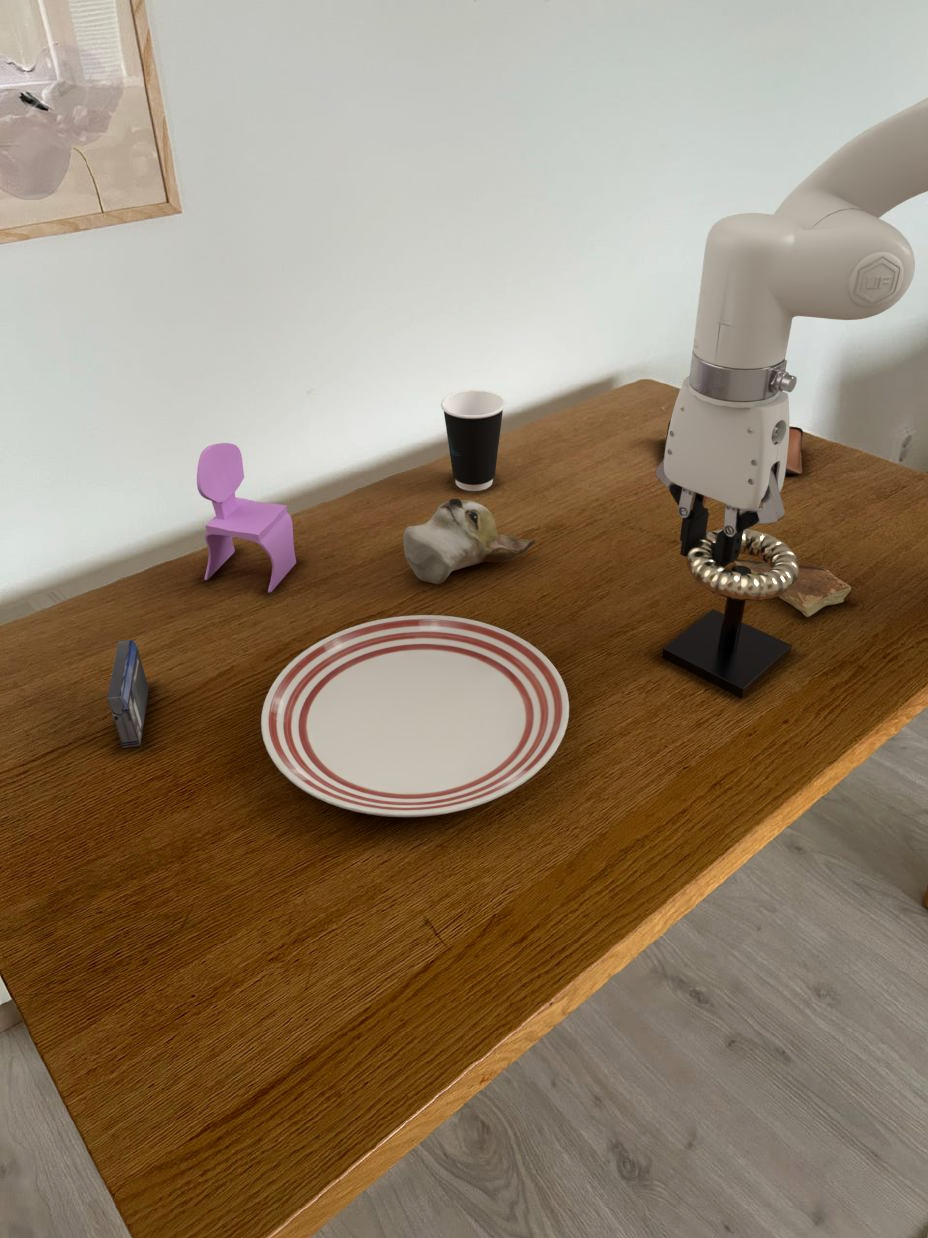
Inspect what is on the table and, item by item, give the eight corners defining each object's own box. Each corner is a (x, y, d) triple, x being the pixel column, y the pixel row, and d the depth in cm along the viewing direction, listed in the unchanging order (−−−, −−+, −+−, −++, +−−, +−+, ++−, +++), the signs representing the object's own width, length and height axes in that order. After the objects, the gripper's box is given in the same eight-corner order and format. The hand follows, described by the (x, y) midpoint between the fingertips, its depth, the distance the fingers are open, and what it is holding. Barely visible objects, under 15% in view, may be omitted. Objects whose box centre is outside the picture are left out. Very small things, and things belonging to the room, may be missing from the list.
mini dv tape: (140, 746, 88) (125, 696, 84) (123, 748, 88) (107, 698, 84) (148, 688, 94) (135, 638, 91) (132, 689, 94) (118, 640, 91)
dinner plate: (235, 678, 95) (229, 651, 93) (490, 609, 104) (490, 583, 102) (314, 888, 75) (309, 859, 73) (624, 781, 84) (627, 753, 82)
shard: (731, 570, 109) (733, 556, 108) (781, 550, 112) (784, 537, 111) (803, 619, 102) (806, 605, 101) (855, 597, 105) (859, 583, 104)
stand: (789, 654, 97) (810, 568, 91) (741, 698, 92) (759, 610, 86) (711, 617, 102) (725, 534, 96) (661, 657, 97) (673, 571, 91)
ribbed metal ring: (816, 571, 92) (821, 549, 90) (760, 620, 86) (764, 598, 84) (722, 533, 97) (726, 512, 96) (664, 576, 91) (667, 555, 90)
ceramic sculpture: (375, 499, 105) (479, 462, 114) (376, 567, 110) (475, 527, 119) (438, 538, 99) (543, 497, 107) (436, 610, 104) (537, 564, 112)
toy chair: (270, 598, 106) (249, 475, 97) (199, 585, 108) (173, 463, 100) (304, 558, 112) (288, 439, 103) (236, 546, 115) (215, 429, 106)
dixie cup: (430, 484, 126) (427, 405, 119) (469, 461, 131) (468, 383, 124) (479, 503, 122) (478, 422, 115) (517, 479, 127) (518, 399, 120)
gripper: (847, 385, 80) (805, 573, 91) (679, 337, 89) (659, 513, 100) (801, 415, 76) (763, 608, 87) (629, 361, 85) (614, 542, 96)
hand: (707, 555), depth 93 cm, fingers closed on ribbed metal ring, 2 cm apart
